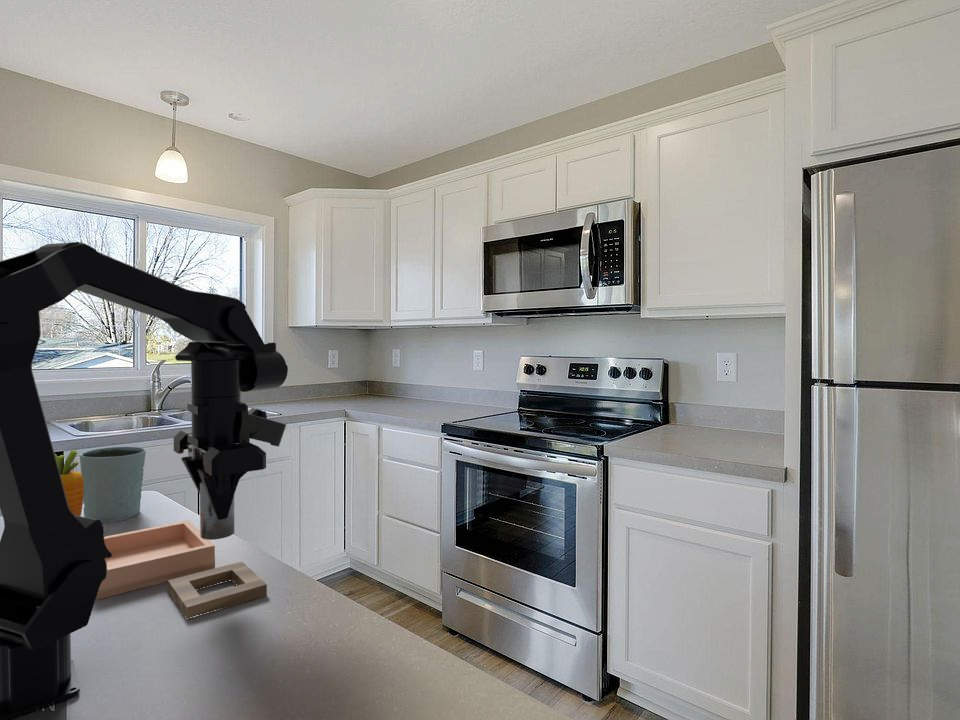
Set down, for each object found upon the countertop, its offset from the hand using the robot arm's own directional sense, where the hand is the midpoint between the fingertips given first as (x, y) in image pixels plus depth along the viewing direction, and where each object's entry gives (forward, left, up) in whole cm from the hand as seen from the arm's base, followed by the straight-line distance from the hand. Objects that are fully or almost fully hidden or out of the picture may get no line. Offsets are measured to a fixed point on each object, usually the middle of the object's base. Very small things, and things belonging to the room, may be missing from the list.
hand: (217, 514), depth 71 cm
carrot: (+34, +13, -11) cm, 38 cm away
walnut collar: (0, 0, -10) cm, 10 cm away
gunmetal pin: (0, 0, -3) cm, 3 cm away
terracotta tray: (+15, +5, -10) cm, 19 cm away
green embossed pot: (+45, +5, -11) cm, 46 cm away
